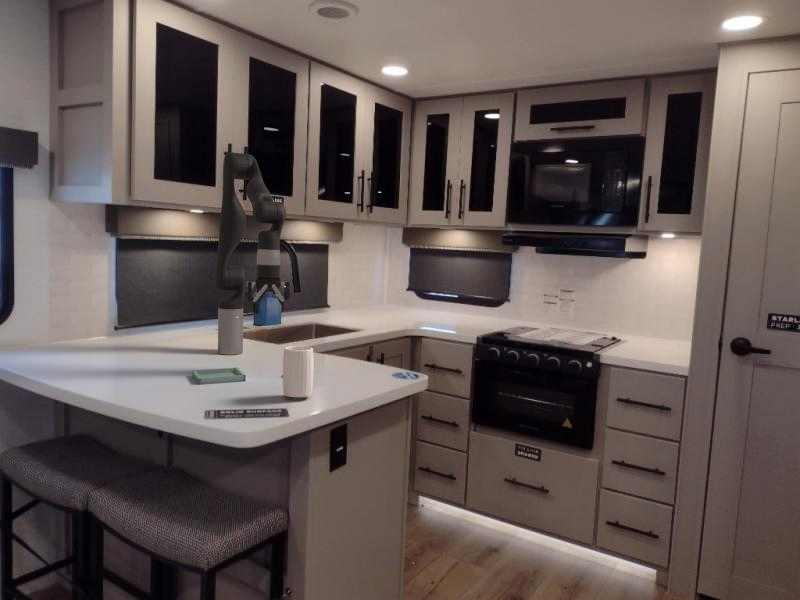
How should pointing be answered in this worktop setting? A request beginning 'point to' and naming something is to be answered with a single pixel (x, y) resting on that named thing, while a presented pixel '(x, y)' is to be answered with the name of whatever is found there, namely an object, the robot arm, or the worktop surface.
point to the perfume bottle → (268, 310)
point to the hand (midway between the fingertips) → (267, 313)
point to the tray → (218, 375)
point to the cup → (298, 371)
